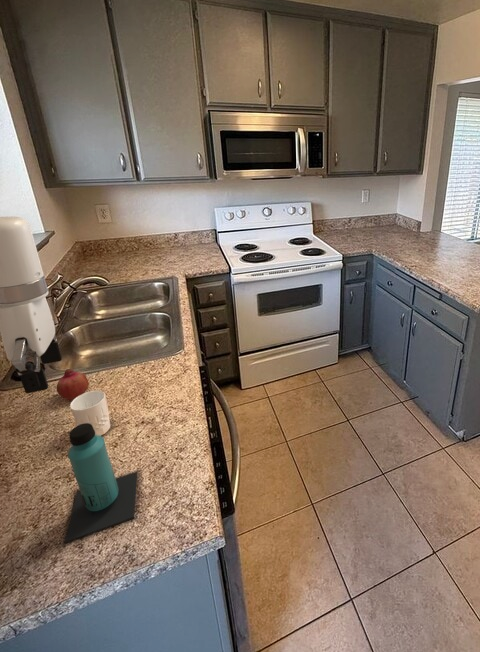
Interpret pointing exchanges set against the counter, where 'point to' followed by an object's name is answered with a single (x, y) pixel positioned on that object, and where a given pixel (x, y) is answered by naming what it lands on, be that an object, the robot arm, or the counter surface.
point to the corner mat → (103, 511)
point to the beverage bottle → (92, 468)
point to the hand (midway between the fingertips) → (45, 375)
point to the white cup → (92, 411)
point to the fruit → (72, 384)
